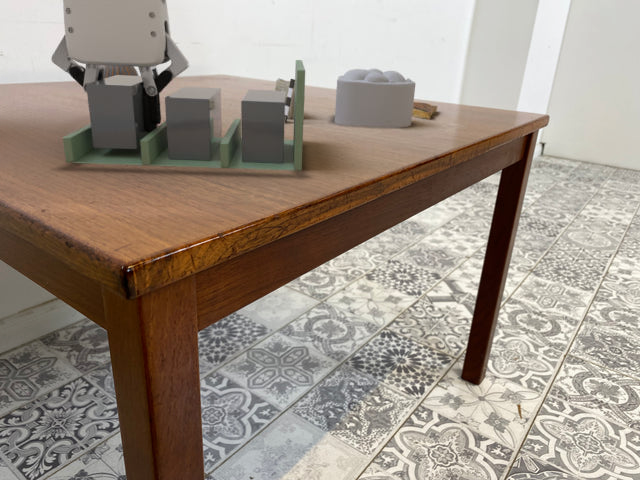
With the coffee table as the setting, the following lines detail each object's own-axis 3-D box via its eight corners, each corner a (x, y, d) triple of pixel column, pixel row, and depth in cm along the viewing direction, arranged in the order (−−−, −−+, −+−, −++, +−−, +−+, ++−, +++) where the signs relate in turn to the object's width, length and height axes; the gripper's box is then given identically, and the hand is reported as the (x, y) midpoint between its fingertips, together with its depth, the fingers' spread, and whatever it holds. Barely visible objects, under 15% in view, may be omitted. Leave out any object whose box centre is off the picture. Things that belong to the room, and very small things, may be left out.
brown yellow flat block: (429, 120, 95) (430, 110, 94) (388, 116, 97) (389, 106, 96) (438, 113, 104) (439, 104, 103) (400, 109, 106) (401, 100, 106)
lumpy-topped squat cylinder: (336, 116, 94) (339, 65, 91) (408, 120, 94) (413, 70, 91) (333, 126, 85) (336, 70, 82) (413, 131, 84) (420, 75, 81)
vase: (127, 100, 100) (122, 51, 97) (149, 104, 96) (146, 54, 93) (94, 102, 95) (88, 51, 91) (117, 107, 91) (111, 54, 88)
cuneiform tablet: (285, 124, 84) (258, 111, 94) (309, 128, 86) (280, 115, 96) (294, 79, 82) (266, 71, 92) (319, 85, 84) (288, 76, 94)
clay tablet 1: (168, 159, 56) (164, 97, 53) (185, 140, 65) (183, 86, 63) (210, 160, 56) (209, 99, 54) (222, 141, 65) (220, 88, 63)
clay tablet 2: (241, 162, 56) (241, 100, 54) (248, 142, 66) (248, 89, 63) (283, 163, 57) (284, 102, 54) (284, 144, 66) (285, 91, 63)
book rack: (66, 171, 53) (51, 58, 49) (112, 141, 67) (103, 50, 63) (301, 179, 55) (305, 70, 51) (299, 148, 69) (302, 60, 64)
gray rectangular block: (93, 147, 55) (85, 83, 52) (121, 129, 64) (116, 74, 62) (137, 149, 55) (131, 85, 53) (158, 131, 64) (155, 76, 62)
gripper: (201, -44, 56) (207, 126, 63) (40, -53, 55) (64, 121, 62) (189, -53, 49) (197, 139, 56) (4, -64, 48) (36, 133, 55)
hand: (127, 127), depth 59 cm, fingers closed on gray rectangular block, 4 cm apart
